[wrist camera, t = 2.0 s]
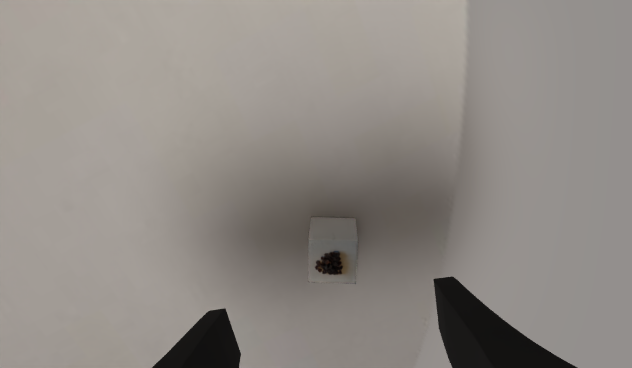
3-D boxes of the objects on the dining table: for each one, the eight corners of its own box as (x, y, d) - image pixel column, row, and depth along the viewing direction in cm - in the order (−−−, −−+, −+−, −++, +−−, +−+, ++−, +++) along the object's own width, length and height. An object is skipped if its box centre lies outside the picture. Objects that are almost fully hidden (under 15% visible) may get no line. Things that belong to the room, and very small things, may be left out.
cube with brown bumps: (353, 256, 18) (356, 287, 16) (311, 255, 18) (307, 285, 16) (355, 217, 18) (358, 243, 15) (311, 216, 18) (306, 242, 15)
